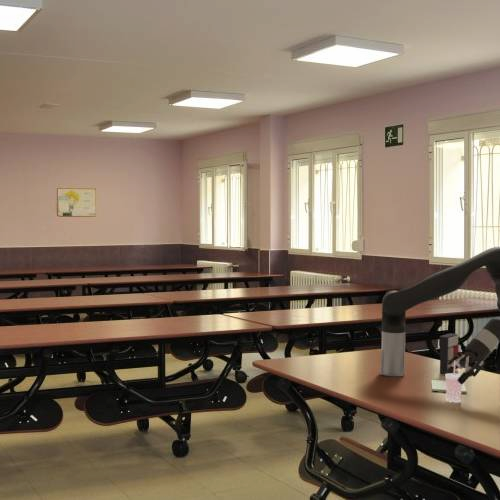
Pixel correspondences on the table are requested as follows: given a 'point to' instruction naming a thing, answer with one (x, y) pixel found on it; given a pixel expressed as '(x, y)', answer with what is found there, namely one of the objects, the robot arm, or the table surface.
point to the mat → (443, 386)
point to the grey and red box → (447, 350)
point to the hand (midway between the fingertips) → (452, 379)
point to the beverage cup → (453, 387)
